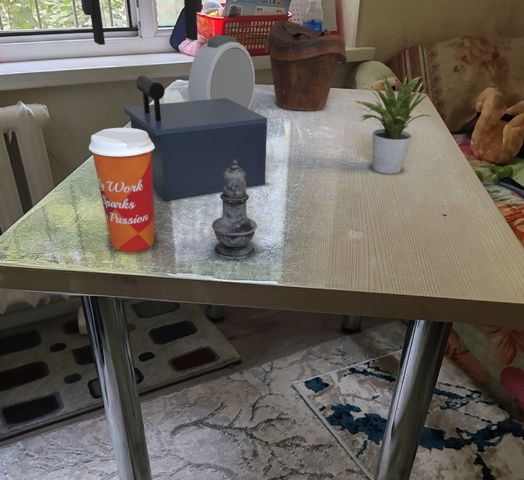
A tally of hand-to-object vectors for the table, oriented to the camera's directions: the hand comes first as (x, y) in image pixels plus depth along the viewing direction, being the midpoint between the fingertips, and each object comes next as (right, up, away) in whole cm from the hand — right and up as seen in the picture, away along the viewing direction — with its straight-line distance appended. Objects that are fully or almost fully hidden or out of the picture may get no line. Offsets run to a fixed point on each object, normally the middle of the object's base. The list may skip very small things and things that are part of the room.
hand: (147, 41), depth 78 cm
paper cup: (-1, -30, -4) cm, 30 cm away
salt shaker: (+13, -31, -5) cm, 34 cm away
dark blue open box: (+5, -14, +17) cm, 23 cm away
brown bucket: (+26, +18, +62) cm, 70 cm away
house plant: (+40, -10, +25) cm, 48 cm away
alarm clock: (+8, +2, +39) cm, 40 cm away
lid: (+5, -6, +11) cm, 13 cm away
